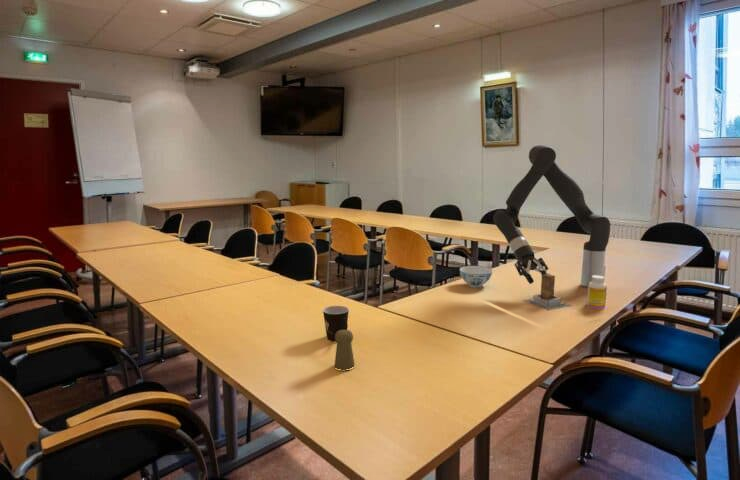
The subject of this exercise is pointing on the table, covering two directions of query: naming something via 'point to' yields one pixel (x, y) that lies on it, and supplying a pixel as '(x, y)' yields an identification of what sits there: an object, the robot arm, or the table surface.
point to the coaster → (549, 307)
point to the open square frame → (547, 301)
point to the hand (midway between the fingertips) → (539, 281)
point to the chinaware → (475, 275)
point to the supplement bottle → (597, 292)
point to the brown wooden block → (547, 286)
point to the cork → (344, 350)
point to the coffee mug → (335, 320)
